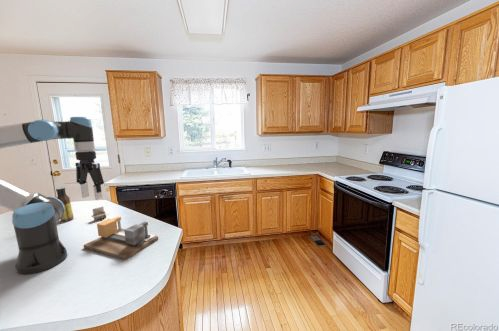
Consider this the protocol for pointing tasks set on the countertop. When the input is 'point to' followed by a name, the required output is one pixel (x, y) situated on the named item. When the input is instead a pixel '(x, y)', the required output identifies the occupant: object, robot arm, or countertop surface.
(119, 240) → the brown board with bar
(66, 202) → the sauce bottle
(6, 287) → the countertop surface
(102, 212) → the architectural model
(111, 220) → the block
